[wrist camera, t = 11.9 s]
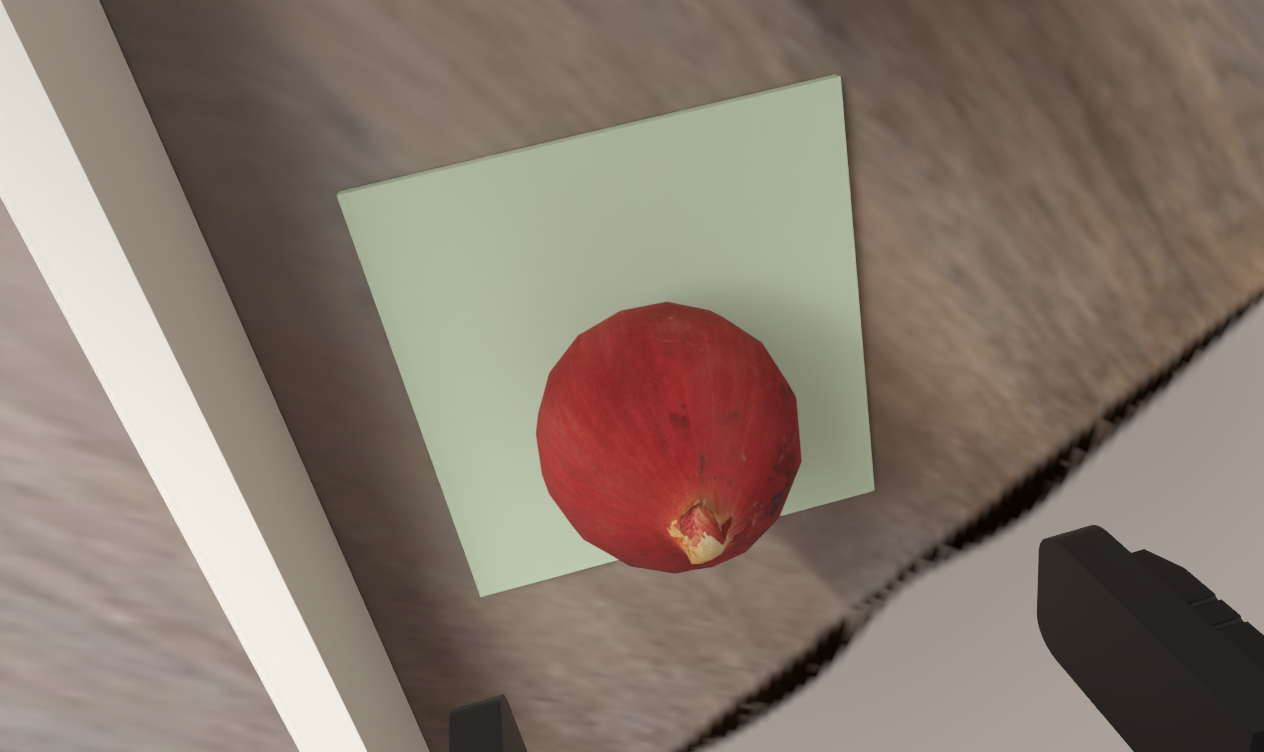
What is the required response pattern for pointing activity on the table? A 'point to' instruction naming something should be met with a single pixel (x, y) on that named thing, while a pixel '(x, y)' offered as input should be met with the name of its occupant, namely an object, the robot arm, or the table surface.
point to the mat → (616, 293)
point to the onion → (668, 437)
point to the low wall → (185, 373)
